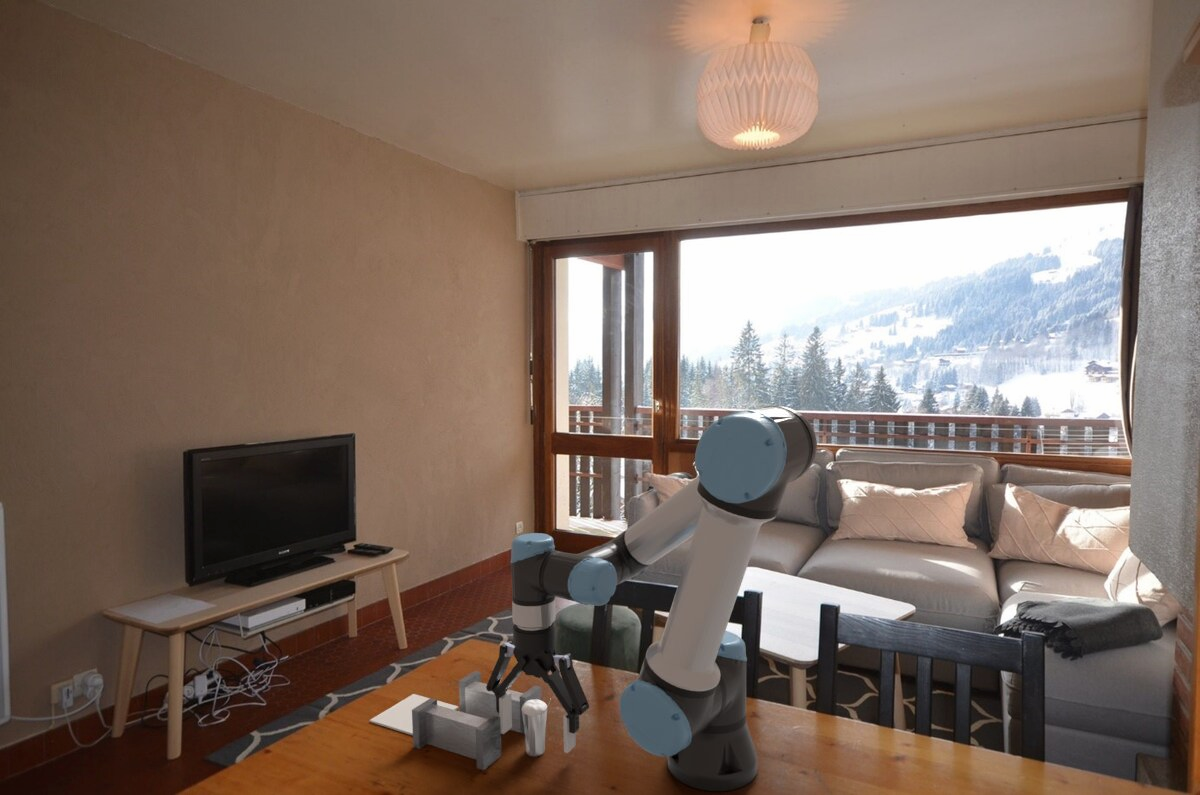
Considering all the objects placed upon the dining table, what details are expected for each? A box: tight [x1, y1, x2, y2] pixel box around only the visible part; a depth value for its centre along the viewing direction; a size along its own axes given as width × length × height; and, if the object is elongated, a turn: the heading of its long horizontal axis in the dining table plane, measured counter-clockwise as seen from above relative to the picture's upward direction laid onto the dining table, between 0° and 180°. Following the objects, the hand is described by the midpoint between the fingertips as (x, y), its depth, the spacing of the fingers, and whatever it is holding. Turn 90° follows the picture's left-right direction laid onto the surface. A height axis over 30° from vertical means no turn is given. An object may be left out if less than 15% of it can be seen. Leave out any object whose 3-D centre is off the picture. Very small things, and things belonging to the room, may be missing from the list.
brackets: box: [412, 670, 543, 771], centre depth 137 cm, size 16×18×7 cm
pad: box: [369, 693, 460, 736], centre depth 145 cm, size 12×12×1 cm
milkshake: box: [522, 698, 552, 757], centre depth 130 cm, size 4×5×10 cm
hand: (537, 739), depth 130 cm, fingers open, 13 cm apart
